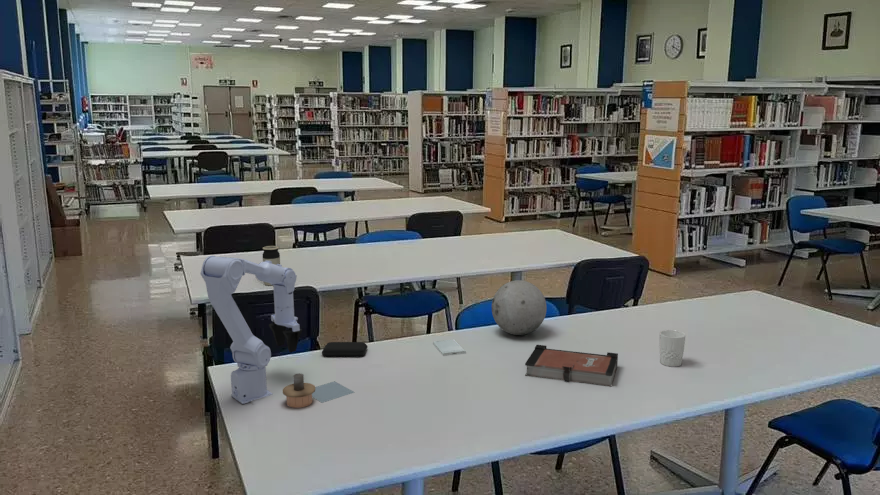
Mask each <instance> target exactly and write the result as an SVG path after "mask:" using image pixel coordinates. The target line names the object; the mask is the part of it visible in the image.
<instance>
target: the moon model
mask: <svg viewBox="0 0 880 495" xmlns="http://www.w3.org/2000/svg"><path fill="white" fill-rule="evenodd" d="M491 313H492V314H491V315H492V317H493V319H494V321H495V323H496V324H497V326H498V327H499V328H500V329H501V330H502V331H503V332H506V333H508V334H510V335H514V336H524V335H528V334H531V333H533V332H535V331H536V330H537V329H538V328H540V326H541V325H543V322H544V320H545V318H546V314H547V300H546V298H545V296H544V294H543V292H542V291H541V290H540V289H539V287H537V286H536V285H535V284H534V283H531V282H530V281H528V280H527V281H526V280H521V279H515V280H511V281H508V282H506V283H504V284H503V285H502V286H500V287H499V288H498V290H497V291H496V292H495V293H494V295H493V298H492V301H491Z"/></svg>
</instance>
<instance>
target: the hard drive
mask: <svg viewBox="0 0 880 495" xmlns="http://www.w3.org/2000/svg"><path fill="white" fill-rule="evenodd" d="M432 345H433V346H434V347H435V348H436V349H437V351H438V352H439V353H440V354H441V356H443V357H445V356H454V355H465V354H467V352H466V350H465V349H464V347H463V346H462V345H460V343H458V341H457V340H456V339H454V338H453V339H445V340H434V341H433V342H432Z"/></svg>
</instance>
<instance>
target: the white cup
mask: <svg viewBox="0 0 880 495" xmlns="http://www.w3.org/2000/svg"><path fill="white" fill-rule="evenodd" d="M686 336H687V335H686V333H685V332H683V331H679V330H674V329H664V330H660V332H659V363H660V364H661V365H663V366H665V367H671V368H672V367H673V368H676V367H680V366H682V364H683V357H684V352H685V351H684V350H685V345H686V344H685V342H686Z"/></svg>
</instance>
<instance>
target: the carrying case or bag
mask: <svg viewBox="0 0 880 495" xmlns="http://www.w3.org/2000/svg"><path fill="white" fill-rule="evenodd" d="M367 350H368V345H367V344H366V343H365V342H363V341H329V342H327V343H326V344H325V345H324V347H323V349H322V350H321V354H322V355H323V357H324V358H362V357H364V355H365V354H366V353H367Z"/></svg>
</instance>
